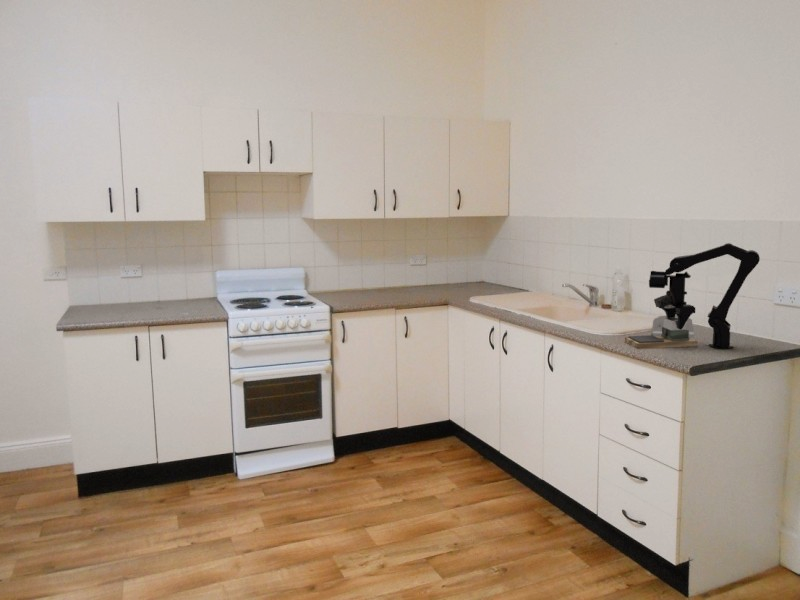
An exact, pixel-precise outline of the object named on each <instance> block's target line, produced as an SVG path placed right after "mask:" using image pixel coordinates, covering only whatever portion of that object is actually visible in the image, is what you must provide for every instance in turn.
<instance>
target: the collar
mask: <svg viewBox="0 0 800 600" xmlns="http://www.w3.org/2000/svg"><path fill="white" fill-rule="evenodd" d="M687 322H688V320H687V321H686V323H685V325H684V327H683V328H682V329H679V326H678V317H672V318H664V328H666V329H669V330H671V331H677V330H687Z"/></svg>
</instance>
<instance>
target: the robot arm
mask: <svg viewBox="0 0 800 600" xmlns="http://www.w3.org/2000/svg"><path fill="white" fill-rule="evenodd" d="M726 255H727V256H730V257H733V258H734V259H737V260H738V261H740V263H739V266H738V268H737V269H738V270H737V271H736V274H735V275H734V278H733V279H732V281H731V282H730V285H729V286H728V289H727V290H726V292H725V294H724V295H723V297H722V299H721V301H720V303H719V304H718V305H717V306H716V305H712V308H711V310H710V311H709V312H708V314H707V318H708V319H707V323H708V326H709V327H710V328H712V329H713V332H712V343H709V344H708V346H710V347H712V348H715V349H721V350H722V349H734V346H732V345H730V344H731V343H730V341H731V331H730V330H731V326H732V325H731V324H730V323H729V321H728V320H727V317H728V313H729V310H730V308H731V306H732V304H733V302H734V300H735V299H736V297H737V295H738V293H739V291H740V289H741V288H742V286H743V285H744V282H745V281H746V279H747V277H748V276H749V275H750V273H751V272H752V271H753V270H754V269H755V268H756V267H757V265H758V264H759V262H760V255H759V252H757V251H755V250H753V249H752V250H751V249H750V250H749V249H748V250H746V249H744V248H743V247H742V248H741V247H739V246H736V245H733V244H732V243H730V242H728V243H727V242H726V243H725V244H723V245H720V246H717V247H714V248H711V249H708V250H704V251H701V252H697V253H694V254H688V255H687V254H686V255H681V256H676V257H674V258H672V259H671V261H670V262H669V267H668V268H667V269H665V271H657V270H651V271H650V275H649V280H648V287H649V288H651V289H652V288H653V289H665V287H669V288H668V290H666V292H665V294H664V295H661V296H659V297H655V298H654V299H653V301H654V305H655V308H659V309H661V310H662V311H664V313H665V316H667V318H672V317H675V315H677V316H678V326H679V329H682V328H683V327H684V325H685V323H686V321H687V320H688V318H690V317H691V315H693V314H696V307H695V305H692V304H687V301H685V295H688V291H686V279H690V278H691V275H690V274H689V273H688V271H685V270H688V269H689V268H691V267H693V266H695V265H698V264H700V263H704V262H706V261H711V260H712V259H717V258H719V257H724V256H726ZM683 271H685V272H683ZM681 272H683V273H681ZM674 273H675V275H672V274H674Z"/></svg>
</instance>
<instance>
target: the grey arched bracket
mask: <svg viewBox="0 0 800 600" xmlns="http://www.w3.org/2000/svg"><path fill="white" fill-rule="evenodd" d="M675 317H678V316H677V315H675ZM664 318H667V316H666V315H662V316H658V317H655V318H653V320H652V326H651V327H652V328H651V335H653V336H661V334H662V327H664ZM687 330H689V338H691V339H693V340H695V332H694V326H693V319H691V318H690V317H689V318H688V322H687Z"/></svg>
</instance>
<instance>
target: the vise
mask: <svg viewBox="0 0 800 600" xmlns="http://www.w3.org/2000/svg"><path fill="white" fill-rule="evenodd" d="M655 337H657V338H660V339H662V340H664V342H654V343H638V342H636V341H634V340H632V339H630V338H629V336H626V337H624V343H626V344H628V345H630V346H631V347H633V348H635V349H637V350H642V349H665V347H667V348H685V347H687V346H689V347H697V346H698V341H697V340H695V339H693V338H689V330H677V331H671V330H669V329H666V328H664V327H662V334H661V336H655Z"/></svg>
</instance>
